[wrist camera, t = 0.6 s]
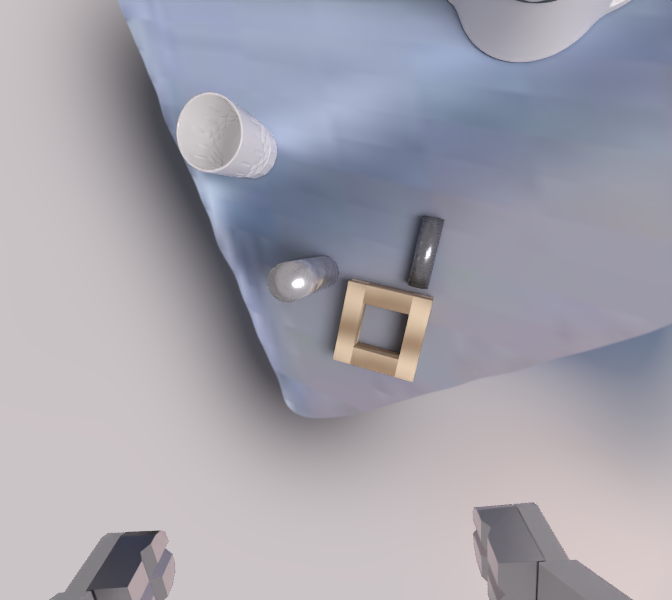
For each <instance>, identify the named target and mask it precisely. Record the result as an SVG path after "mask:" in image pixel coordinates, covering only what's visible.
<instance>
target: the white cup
mask: <svg viewBox="0 0 672 600" xmlns="http://www.w3.org/2000/svg"><path fill="white" fill-rule="evenodd" d="M176 137H177V143H178V147H179V150H180V152H181V154H182V156H183V157H184V159H185V160H186V161H187V162H188V163H189V164H190V165H191V166H192V167H194V168H195V169H197V170H199V171H203V172H208V173H214V174H219V175H225V176H232V177H239V178H242V177H245V178H253V179H256V178H259V177H261V176H264V175H266V174H267V173H268V172H269V171H270V170H271V168H272V167H273V166H274V164H275V160H276V157H277V143H276V140H275V138H274V136H273V134H272V133H271V131H270V130H269V129H267V128H266V127H265V126H263V125H262V124H261V123H260V122H259V121H258V120H257V119H255V118H254V117H253V116H252V115H250V114H249V113H248V112H246V111H245V110H243V109H242V108H240V107H239V106H238V105H236V104H235V103H233V102H232V101H231V100H229V99H228V98H226V97H225V96H223V95H221V94H218V93H214V92H205V93H201V94H198V95H196V96H195V97H193V98H192V99H190V100H189V101H188V102H187V103H186V105H185V106H184V107H183V109H182V111H181V113H180V115H179V118H178V122H177V127H176Z"/></svg>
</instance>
